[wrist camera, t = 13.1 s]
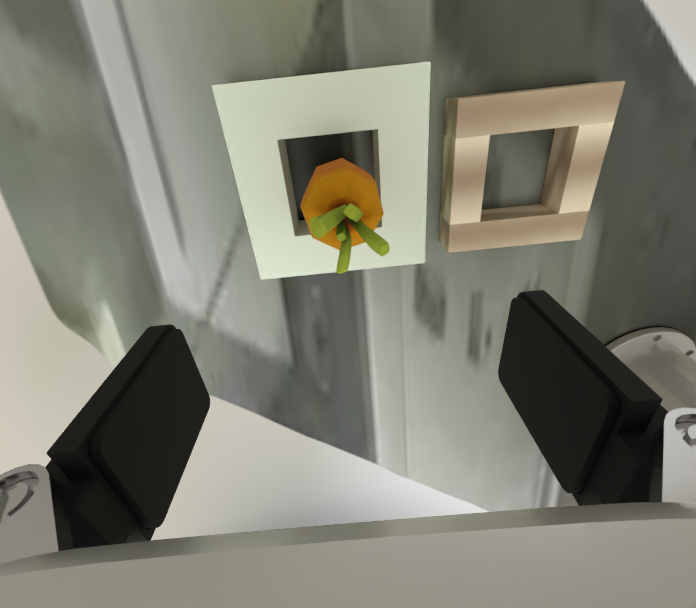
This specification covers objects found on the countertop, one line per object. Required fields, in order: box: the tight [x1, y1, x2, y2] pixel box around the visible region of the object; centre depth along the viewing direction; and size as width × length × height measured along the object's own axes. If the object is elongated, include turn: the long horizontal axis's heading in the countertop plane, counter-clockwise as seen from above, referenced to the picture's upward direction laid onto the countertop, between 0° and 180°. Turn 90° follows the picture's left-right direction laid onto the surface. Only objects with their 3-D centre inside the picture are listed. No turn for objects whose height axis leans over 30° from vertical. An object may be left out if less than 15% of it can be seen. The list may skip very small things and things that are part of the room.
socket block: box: [439, 81, 625, 253], centre depth 28 cm, size 12×12×3 cm
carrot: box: [300, 158, 390, 274], centre depth 22 cm, size 5×5×15 cm
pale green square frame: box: [212, 61, 431, 280], centre depth 27 cm, size 14×14×4 cm
